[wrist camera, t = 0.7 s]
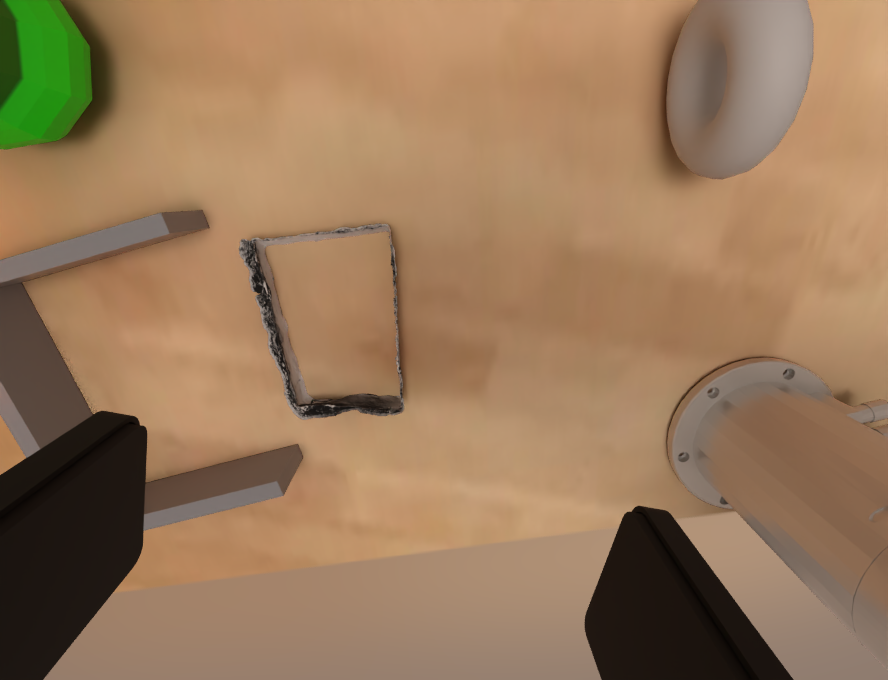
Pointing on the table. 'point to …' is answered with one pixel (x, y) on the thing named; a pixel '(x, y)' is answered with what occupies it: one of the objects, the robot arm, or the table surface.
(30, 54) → the plastic bottle
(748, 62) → the donut
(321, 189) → the table surface
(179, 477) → the tray
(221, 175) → the table surface
